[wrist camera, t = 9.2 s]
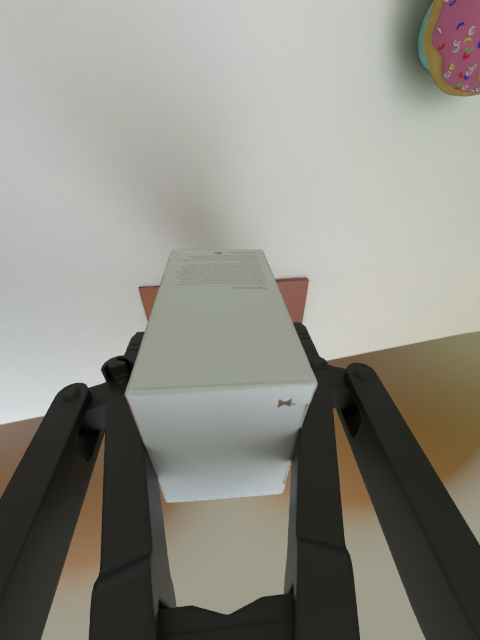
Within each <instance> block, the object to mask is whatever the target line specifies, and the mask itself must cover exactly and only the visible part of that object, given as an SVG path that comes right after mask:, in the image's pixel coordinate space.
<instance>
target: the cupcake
mask: <svg viewBox="0 0 480 640" xmlns="http://www.w3.org/2000/svg"><path fill="white" fill-rule="evenodd" d="M418 54H419V58H420V61H421V63H422V65H423V66H424V67H425V68H426V69H427V70H429V71H430V72H431V75H432V77H433V80H434V82H435V83H436V85H437V86H438V87H439V89H440V90H441V91H443V92H444V93H446V94H449V95H454V96H472V95H477V94H480V0H433V2H432V4H431V6H430V7H429V9H428V11H427V13H426V15H425V17H424V19H423V22H422V25H421V28H420V32H419V37H418Z"/></svg>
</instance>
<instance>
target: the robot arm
mask: <svg viewBox="0 0 480 640" xmlns="http://www.w3.org/2000/svg"><path fill="white" fill-rule="evenodd" d="M293 325H294V327H295V330H296V332H297V335H298V337H299V339H300V342H301V344H302V347H303V349H304V351H305V354H306V356H307V359H308V361H309V364H310V366H311V369H312V371H313V373H314V375H315V377H316V380H317V383H318V384H317V387H316V390H315V392H314V395H313V397H312V400H311V402H310V404H309V407H308V409H307V412H306V415H305V418H304V421H303V424H302V427H301V428H299V430H298V435H297V440H296V444H295V449H294V453H293V457H292V467H291V487H290V488H291V489H290V508H289V528H288V548H287V549H288V550H287V562H286V571H285V583H284V594H282V595H274V596H266V597H261V598H259V599H257V600H256V601H254V602H252V603H250V604H248V605H246V606H244V607H243V608H241V609H239V610H237V611H235V612H233V613H231V614H228V615H225V614H221V613H217V612H214V611H210V610H207V609H203V608H199V607H196V606H184V607H176V600H175V593H174V588H173V583H172V579H171V575H170V570H169V563H168V555H167V547H166V538H165V531H164V522H163V514H162V506H161V498H160V489H159V481H158V476H157V474H156V472H155V469H154V467H153V465H152V463H151V460H150V458H149V455H148V453H147V451H146V448H145V446H144V443H143V441H142V438H141V436H140V433H139V431H138V428H137V425H136V423H135V420H134V418H133V415H132V412H131V409H130V407H129V404H128V402H127V399H126V397H125V391H126V388H127V385H128V382H129V379H130V376H131V373H132V370H133V367H134V364H135V361H136V358H137V355H138V352H139V349H140V346H141V342H142V339H143V336H144V333H145V332H137V333H136V334H135V335H134V336H133V337H132V338H131V340H130V342H129V346H128V347H127V350H126V352H125V355H124V356H116V357H114V358H111V359H109V360H108V361H106V362H105V363H104V365H103V366H102V368H101V371H102V373H103V375H104V378H105V380H106V382H105V383H103V384H100V385H97V386H93V387H90V388H88V387H87V385H86V384H84V383H74V384H71V385H68V386H66V387H64V388H63V389H62V390H61V391H59V392H58V394H57V395H56V396H55V398H54V400H53V402H52V404H51V406H50V408H49V409H48V411H47V413H46V415H45V417H44V419H43V421H42V422H41V424H40V426H39V428H38V430H37V432H36V434H35V435H34V437H33V439H32V441H31V443H30V445H29V447H28V448H27V450H26V452H25V454H24V456H23V458H22V460H21V461H20V463H19V465H18V467H17V469H16V471H15V473H14V475H13V476H12V478H11V480H10V482H9V484H8V486H7V488H6V489H5V491H4V493H3V495H2V497H1V499H0V640H41V637H42V634H43V630H44V627H45V624H46V621H47V618H48V614H49V611H50V608H51V604H52V602H53V598H54V595H55V592H56V589H57V585H58V582H59V579H60V576H61V572H62V569H63V566H64V563H65V559H66V556H67V553H68V550H69V546H70V543H71V540H72V537H73V534H74V530H75V527H76V524H77V521H78V517H79V514H80V511H81V508H82V505H83V501H84V498H85V495H86V491H87V488H88V485H89V481H90V479H91V475H92V472H93V469H94V466H95V462H96V459H97V456H98V453H99V450H100V446H101V443H102V440H103V436H104V433H105V451H104V452H105V453H104V479H103V506H102V534H101V535H102V536H101V563H100V572H99V576H98V578H97V580H96V582H95V584H94V587H93V591H92V598H91V609H90V627H89V640H360V634H359V625H358V615H357V605H356V595H355V585H354V576H353V568H352V562H351V558H350V554H349V553H348V551H347V549H346V545H345V539H344V528H343V518H342V506H341V495H340V484H339V473H338V461H337V451H336V439H335V427H334V416H333V408H336V409H337V412H338V415H339V418H340V420H341V423H342V426H343V428H344V431H345V433H346V436H347V439H348V441H349V444H350V447H351V449H352V452H353V454H354V457H355V460H356V462H357V465H358V467H359V470H360V473H361V475H362V478H363V480H364V483H365V486H366V488H367V491H368V494H369V496H370V499H371V502H372V504H373V507H374V509H375V512H376V515H377V517H378V520H379V523H380V525H381V527H382V530H383V533H384V536H385V538H386V541H387V544H388V546H389V549H390V551H391V554H392V557H393V559H394V562H395V564H396V567H397V570H398V572H399V575H400V578H401V580H402V583H403V585H404V588H405V591H406V593H407V596H408V598H409V601H410V604H411V606H412V609H413V611H414V613H415V616H416V618H417V621H418V623H419V625H420V628H421V630H422V632H423V634H424V636H425V638H426V640H480V545H479V543H478V541H477V540H476V538H475V537H474V535H473V533H472V532H471V530H470V528H469V527H468V525H467V523H466V521H465V520H464V518H463V517H462V515H461V513H460V512H459V510H458V508H457V507H456V505H455V503H454V502H453V500H452V499H451V497H450V495H449V493H448V492H447V490H446V488H445V487H444V485H443V483H442V482H441V480H440V479H439V477H438V475H437V474H436V472H435V470H434V468H433V467H432V465H431V463H430V462H429V460H428V458H427V457H426V455H425V454H424V452H423V450H422V449H421V447H420V445H419V444H418V442H417V440H416V439H415V437H414V435H413V434H412V432H411V430H410V429H409V427H408V425H407V424H406V422H405V420H404V419H403V417H402V415H401V414H400V412H399V411H398V409H397V407H396V406H395V404H394V402H393V400H392V399H391V397H390V396H389V394H388V392H387V391H386V389H385V387H384V386H383V384H382V382H381V381H380V379H379V377H378V376H377V374H376V372H375V371H374V370H373V369H372V368H371V367H369V366H368V365H365V364H362V363H351V364H350V365H349V366H348V367H347V369H344V368H339V367H334V366H331V365H328V363H327V362H326V360H325V359H323V358H321V357H319V355H318V353H317V350H316V348H315V346H314V344H313V342H312V340H311V338H310V335H309V334H308V331H307V329H306V327H305V326H304V325H303V324H302V323H300V322H293Z"/></svg>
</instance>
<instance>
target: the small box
mask: <svg viewBox="0 0 480 640" xmlns="http://www.w3.org/2000/svg"><path fill="white" fill-rule="evenodd" d="M317 384H318V383H317V380H316V377H315V375H314V373H313V371H312V369H311V366H310V364H309V361H308V359H307V356H306V354H305V351H304V349H303V347H302V344H301V342H300V339H299V337H298V335H297V332H296V330H295V327H294V325H293V322H292V320H291V317H290V315H289V312H288V310H287V307H286V305H285V303H284V300H283V298H282V295H281V293H280V290H279V288H278V285H277V283H276V281H275V278H274V276H273V273H272V271H271V269H270V266H269V264H268V262H267V259H266V257H265V255H264V252H263V250H172V251H171V253H170V256H169V259H168V262H167V265H166V268H165V271H164V274H163V277H162V280H161V284H160V287H159V290H158V293H157V296H156V299H155V302H154V305H153V308H152V312H151V314H150V318H149V321H148V324H147V327H146V330H145V333H144V336H143V339H142V342H141V346H140V349H139V352H138V355H137V358H136V361H135V364H134V367H133V370H132V373H131V376H130V379H129V382H128V385H127V388H126V391H125V397H126V399H127V402H128V404H129V407H130V409H131V412H132V415H133V418H134V420H135V423H136V425H137V428H138V431H139V433H140V436H141V438H142V441H143V443H144V446H145V448H146V451H147V453H148V455H149V458H150V460H151V463H152V465H153V467H154V469H155V472H156V474H157V476H158V481H159V486H160V488H161V491H162V493H163V496H164V500H165V502H187V501H197V500H210V499H224V498H236V497H248V496H260V495H272V494H281V493H283V491H284V488H285V483H286V477H287V474H288V470H289V467H290V463H291V459H292V457H293V453H294V449H295V444H296V440H297V435H298V430H299V428H301V427H302V424H303V421H304V418H305V415H306V412H307V409H308V407H309V404H310V402H311V400H312V397H313V395H314V392H315V390H316V387H317Z"/></svg>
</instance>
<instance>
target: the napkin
mask: <svg viewBox="0 0 480 640" xmlns="http://www.w3.org/2000/svg"><path fill="white" fill-rule="evenodd" d="M275 281H276V283H277V285H278V288H279V290H280V293H281V295H282V298H283V300H284V303H285V305H286V307H287V310H288V312H289V315H290V317H291V320H292V322H300V323H302V320H303V313H304V307H305V300H306V294H307V288H308V281H309V280H308V279H307V278H300V279H282V280H275ZM159 287H160V286H157V287H139V292H140V295H141V299H142V302H143V306H144V309H145V313H146V316H147V320H148V321H149V318H150V314H151V312H152V308H153V305H154V302H155V299H156V296H157V293H158V290H159Z"/></svg>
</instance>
